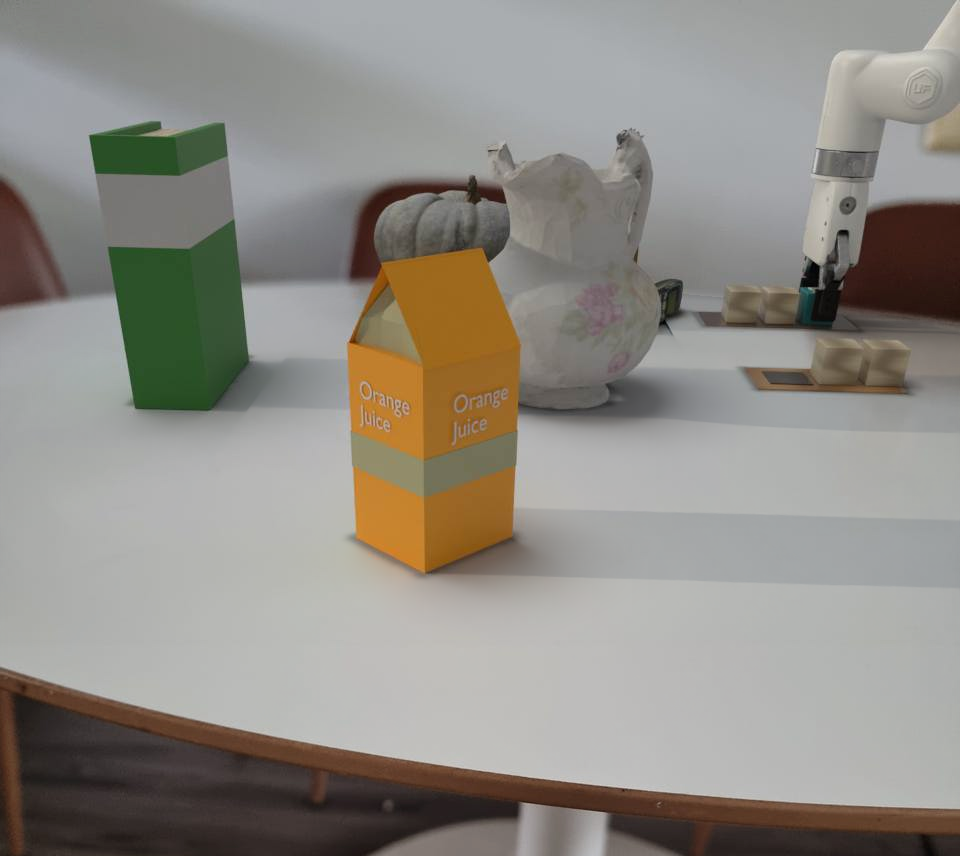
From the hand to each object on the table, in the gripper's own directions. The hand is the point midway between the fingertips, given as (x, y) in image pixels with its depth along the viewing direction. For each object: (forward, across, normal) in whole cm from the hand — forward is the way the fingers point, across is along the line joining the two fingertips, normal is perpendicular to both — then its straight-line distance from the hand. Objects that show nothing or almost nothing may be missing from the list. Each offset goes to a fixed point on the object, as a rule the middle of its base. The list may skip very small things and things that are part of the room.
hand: (815, 313), depth 130 cm
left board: (+2, 0, +5) cm, 5 cm away
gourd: (+2, +6, +47) cm, 47 cm away
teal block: (+1, 0, 0) cm, 1 cm away
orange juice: (+2, -70, +46) cm, 84 cm away
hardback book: (+2, -33, +74) cm, 81 cm away
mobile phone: (+2, 0, +21) cm, 21 cm away
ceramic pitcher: (+2, -33, +35) cm, 48 cm away
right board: (+2, -27, +6) cm, 28 cm away
